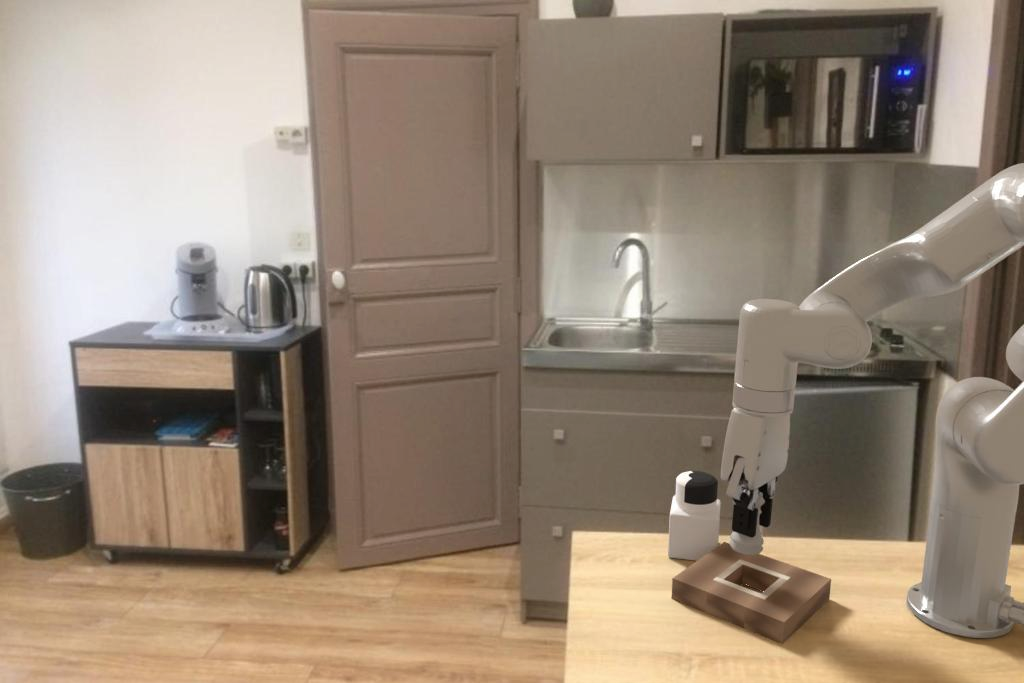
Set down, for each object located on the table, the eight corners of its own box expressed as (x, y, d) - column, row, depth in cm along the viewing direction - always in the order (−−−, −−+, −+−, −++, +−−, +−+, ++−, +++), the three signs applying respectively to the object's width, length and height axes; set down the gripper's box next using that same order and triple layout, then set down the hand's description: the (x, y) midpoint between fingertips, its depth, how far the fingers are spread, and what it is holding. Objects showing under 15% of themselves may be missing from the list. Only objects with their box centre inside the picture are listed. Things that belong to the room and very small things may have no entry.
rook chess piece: (764, 558, 115) (772, 501, 113) (729, 553, 116) (736, 496, 114) (761, 544, 119) (769, 488, 118) (727, 539, 120) (734, 484, 118)
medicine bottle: (718, 541, 135) (722, 468, 132) (717, 564, 129) (721, 487, 126) (671, 536, 137) (674, 464, 134) (667, 558, 130) (670, 483, 127)
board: (829, 598, 119) (831, 578, 118) (782, 643, 109) (784, 622, 108) (723, 560, 130) (724, 541, 129) (671, 598, 120) (672, 578, 119)
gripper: (766, 377, 121) (754, 501, 125) (703, 404, 109) (693, 540, 113) (819, 389, 116) (804, 517, 120) (760, 419, 104) (746, 560, 109)
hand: (751, 527), depth 117 cm, fingers closed on rook chess piece, 3 cm apart
